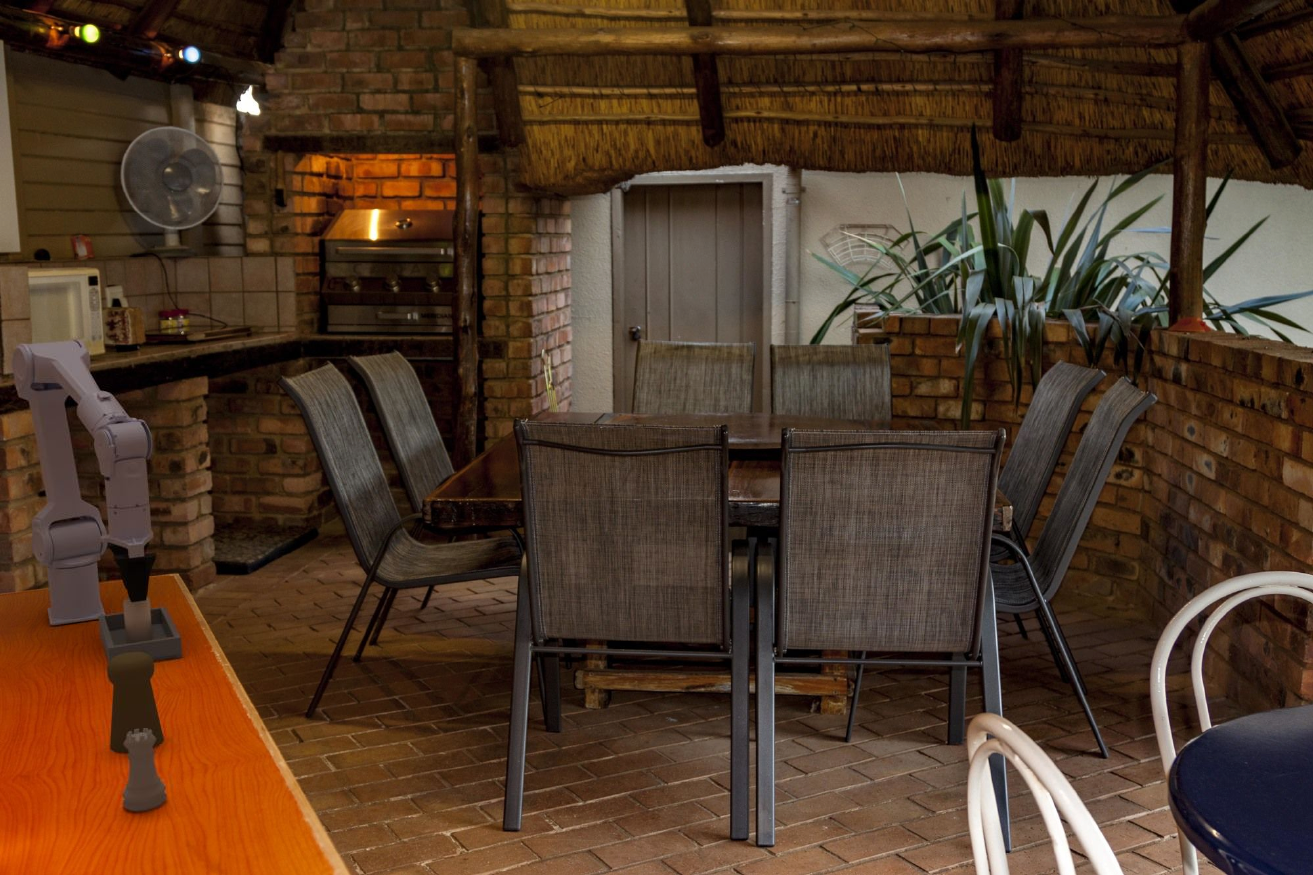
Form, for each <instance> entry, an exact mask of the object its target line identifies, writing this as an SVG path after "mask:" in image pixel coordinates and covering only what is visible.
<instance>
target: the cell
mask: <svg viewBox="0 0 1313 875" xmlns="http://www.w3.org/2000/svg"><path fill="white" fill-rule="evenodd" d="M122 604H123V612H124V619H125V631H126V643H127V644H130V643H136V642H143V641H150V640H153V638H152V625H151V613H150V608H151V600H150V597H148V596H147V599H146V601H139V602H131V601H130V599H129V597H128V598H126V599H124V600H123V601H122Z"/></svg>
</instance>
